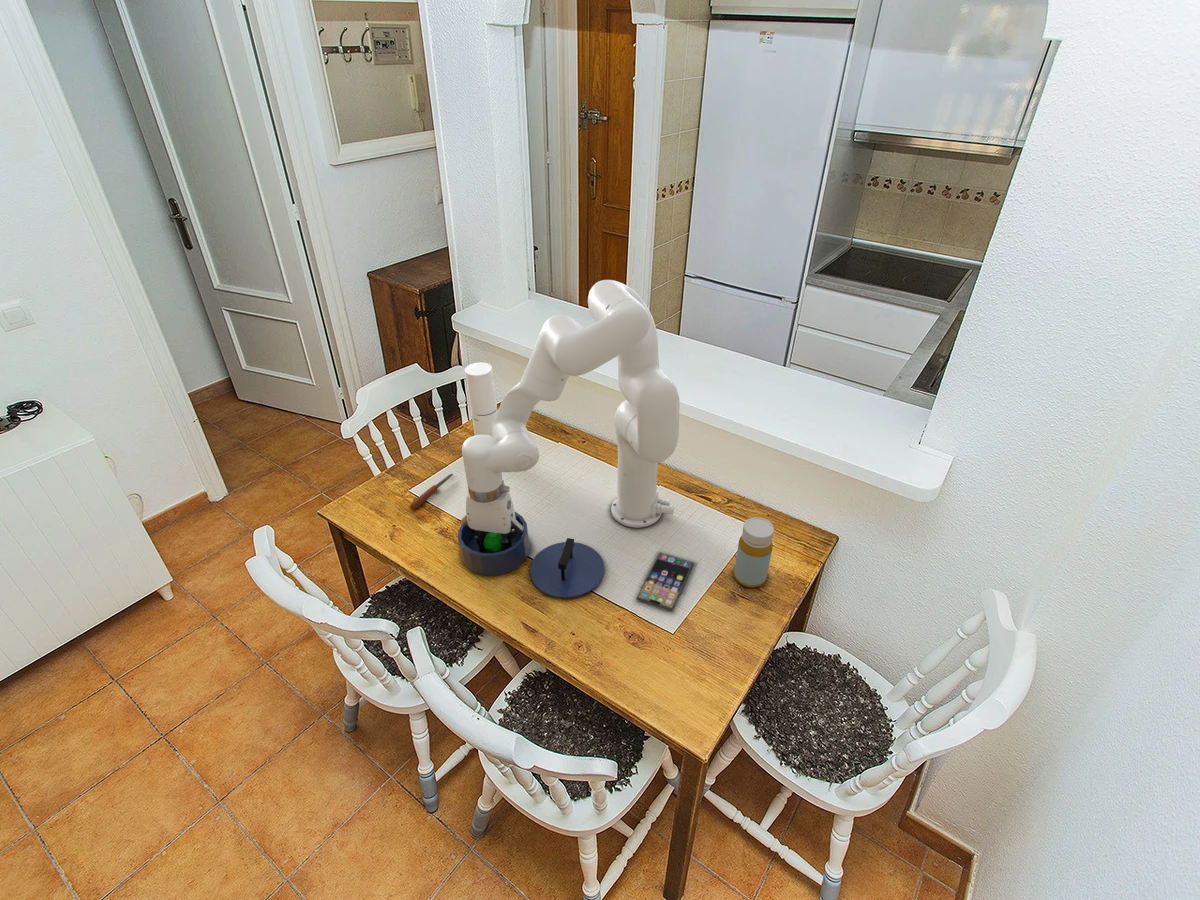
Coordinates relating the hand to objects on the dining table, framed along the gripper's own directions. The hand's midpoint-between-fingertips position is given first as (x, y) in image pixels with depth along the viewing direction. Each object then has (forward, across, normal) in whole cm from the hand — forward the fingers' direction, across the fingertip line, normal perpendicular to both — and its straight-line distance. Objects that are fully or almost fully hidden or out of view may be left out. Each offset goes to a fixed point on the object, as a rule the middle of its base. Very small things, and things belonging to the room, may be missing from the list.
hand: (495, 548), depth 147 cm
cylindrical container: (+1, +16, -40) cm, 43 cm away
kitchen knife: (+1, +23, -17) cm, 29 cm away
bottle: (+1, -58, -3) cm, 58 cm away
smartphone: (+1, -40, +2) cm, 40 cm away
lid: (0, -18, +3) cm, 18 cm away
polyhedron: (+1, 0, 0) cm, 1 cm away
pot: (+1, 0, 0) cm, 1 cm away
